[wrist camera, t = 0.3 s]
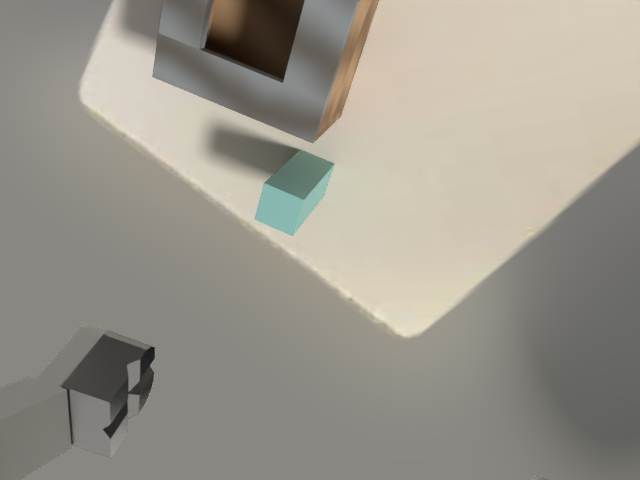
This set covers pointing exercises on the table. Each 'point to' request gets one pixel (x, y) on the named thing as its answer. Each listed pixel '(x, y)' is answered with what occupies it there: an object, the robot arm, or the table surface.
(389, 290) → the table surface
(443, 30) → the table surface
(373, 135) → the table surface
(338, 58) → the drop box
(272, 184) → the block
